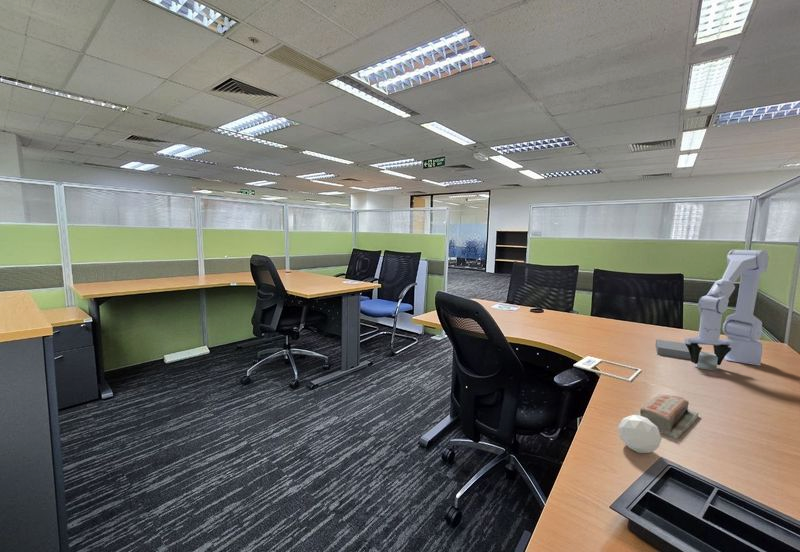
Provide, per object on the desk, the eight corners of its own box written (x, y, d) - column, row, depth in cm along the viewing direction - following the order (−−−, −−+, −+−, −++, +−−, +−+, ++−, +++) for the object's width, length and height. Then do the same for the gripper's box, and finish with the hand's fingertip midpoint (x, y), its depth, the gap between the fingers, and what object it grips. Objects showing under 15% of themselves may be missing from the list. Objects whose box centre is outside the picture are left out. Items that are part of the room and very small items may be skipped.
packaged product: (680, 422, 78) (631, 405, 86) (678, 441, 78) (630, 422, 86) (700, 400, 88) (655, 387, 96) (698, 417, 89) (654, 403, 97)
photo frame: (587, 355, 133) (641, 368, 120) (587, 358, 133) (641, 371, 120) (573, 364, 123) (630, 379, 110) (573, 367, 123) (630, 383, 110)
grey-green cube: (713, 366, 124) (714, 353, 124) (716, 371, 120) (717, 357, 120) (694, 363, 127) (696, 351, 127) (697, 367, 123) (698, 354, 122)
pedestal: (696, 352, 141) (697, 345, 140) (702, 361, 129) (703, 354, 129) (655, 345, 149) (656, 339, 148) (657, 354, 137) (657, 347, 137)
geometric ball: (630, 454, 77) (631, 419, 80) (669, 462, 70) (669, 423, 73) (609, 443, 74) (611, 408, 78) (647, 450, 68) (648, 411, 71)
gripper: (723, 326, 125) (719, 360, 126) (680, 324, 127) (676, 358, 129) (739, 331, 118) (734, 367, 119) (693, 329, 120) (689, 365, 122)
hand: (705, 363), depth 124 cm, fingers closed on grey-green cube, 7 cm apart
